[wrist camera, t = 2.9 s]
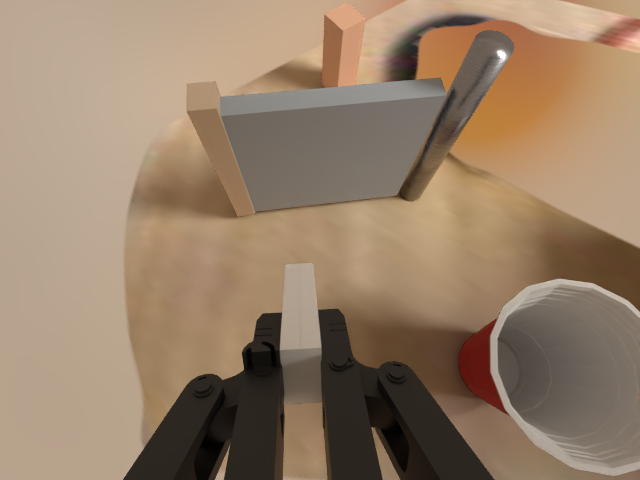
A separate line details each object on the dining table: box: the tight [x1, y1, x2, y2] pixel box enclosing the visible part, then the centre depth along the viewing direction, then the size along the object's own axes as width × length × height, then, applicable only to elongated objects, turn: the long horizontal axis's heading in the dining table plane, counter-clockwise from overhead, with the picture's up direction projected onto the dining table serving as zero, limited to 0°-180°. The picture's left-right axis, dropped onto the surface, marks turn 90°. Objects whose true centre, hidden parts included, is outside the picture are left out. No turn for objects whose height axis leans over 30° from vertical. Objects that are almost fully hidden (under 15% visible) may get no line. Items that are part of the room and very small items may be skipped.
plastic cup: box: [459, 279, 640, 476], centre depth 25 cm, size 11×11×12 cm
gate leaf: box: [187, 78, 447, 216], centre depth 28 cm, size 17×2×15 cm, turn 98°
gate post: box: [400, 30, 514, 201], centre depth 28 cm, size 2×2×18 cm
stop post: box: [322, 3, 366, 88], centre depth 38 cm, size 3×3×9 cm
